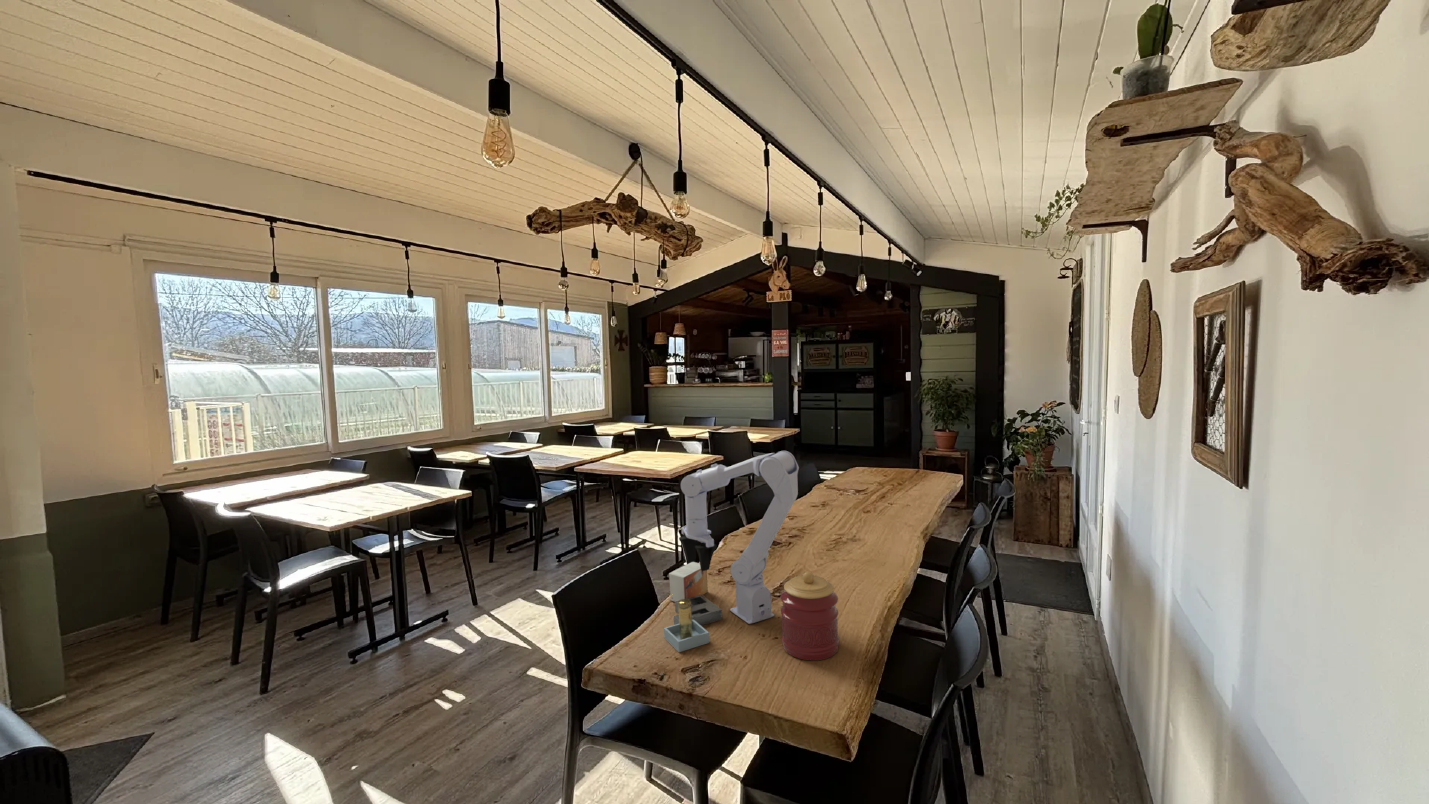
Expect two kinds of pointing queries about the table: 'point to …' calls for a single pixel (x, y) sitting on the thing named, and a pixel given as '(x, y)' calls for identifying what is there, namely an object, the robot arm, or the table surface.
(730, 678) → the table surface
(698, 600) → the socket block
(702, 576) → the small box
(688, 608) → the gold metallic cylinder
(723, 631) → the table surface
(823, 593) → the canister
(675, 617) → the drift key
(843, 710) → the table surface
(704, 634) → the tray
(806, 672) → the table surface
